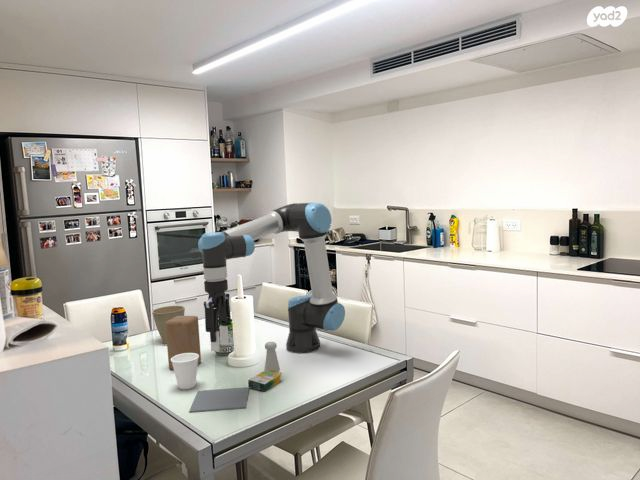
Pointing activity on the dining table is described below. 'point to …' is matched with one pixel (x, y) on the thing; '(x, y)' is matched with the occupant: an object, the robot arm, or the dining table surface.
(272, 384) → the crayon box
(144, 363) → the dining table surface
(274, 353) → the salt shaker
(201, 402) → the mat
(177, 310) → the plant pot
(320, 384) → the dining table surface
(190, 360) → the cup
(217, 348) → the robot arm
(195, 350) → the wooden block
